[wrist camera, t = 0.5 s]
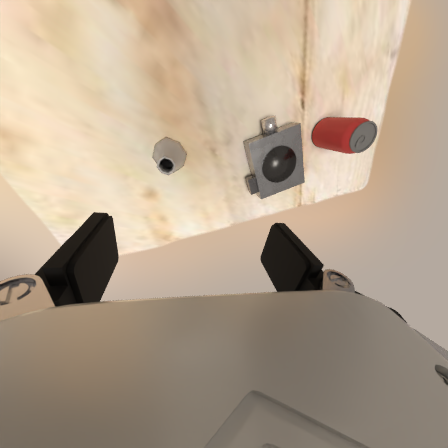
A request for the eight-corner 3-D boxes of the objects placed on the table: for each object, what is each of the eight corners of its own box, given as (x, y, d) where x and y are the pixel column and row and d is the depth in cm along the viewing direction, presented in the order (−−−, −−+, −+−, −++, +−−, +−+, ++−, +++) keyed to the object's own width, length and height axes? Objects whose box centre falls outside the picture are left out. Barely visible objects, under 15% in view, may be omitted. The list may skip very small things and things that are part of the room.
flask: (164, 130, 38) (158, 134, 29) (192, 153, 41) (194, 162, 33) (146, 157, 40) (136, 169, 31) (174, 177, 43) (172, 192, 35)
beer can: (305, 138, 44) (341, 144, 34) (324, 111, 42) (368, 109, 32) (321, 151, 47) (359, 161, 37) (340, 127, 44) (386, 130, 34)
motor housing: (231, 131, 40) (236, 132, 36) (289, 108, 40) (300, 107, 36) (249, 196, 49) (254, 202, 46) (296, 177, 49) (305, 182, 45)
